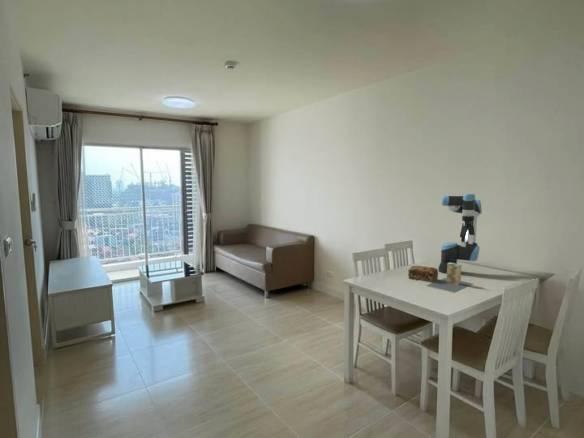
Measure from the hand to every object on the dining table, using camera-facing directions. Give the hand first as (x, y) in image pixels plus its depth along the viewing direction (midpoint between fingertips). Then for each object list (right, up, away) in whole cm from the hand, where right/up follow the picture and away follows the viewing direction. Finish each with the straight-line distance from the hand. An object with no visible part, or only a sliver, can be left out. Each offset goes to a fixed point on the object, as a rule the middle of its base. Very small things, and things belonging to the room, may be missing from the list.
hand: (466, 245), depth 241 cm
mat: (-15, -28, -6) cm, 32 cm away
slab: (-11, -27, -3) cm, 29 cm away
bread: (-28, -27, +10) cm, 40 cm away
